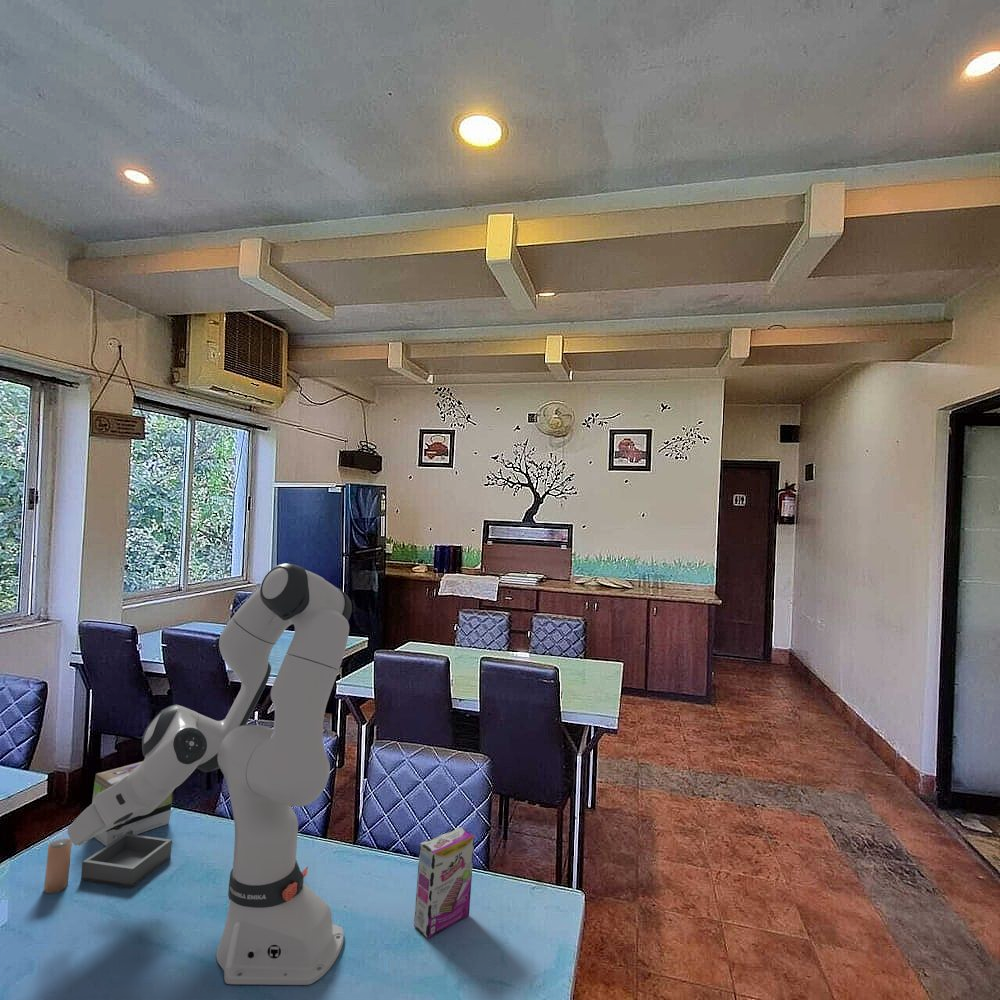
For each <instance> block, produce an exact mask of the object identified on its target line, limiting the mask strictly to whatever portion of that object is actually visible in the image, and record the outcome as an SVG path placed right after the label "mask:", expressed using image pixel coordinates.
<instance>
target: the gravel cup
mask: <svg viewBox="0 0 1000 1000" xmlns="http://www.w3.org/2000/svg"><path fill="white" fill-rule="evenodd" d="M72 844H73V843H72V841H71V840H70V838H69V837H68V838H60V839H56V840H53V841H52V842H50V843H49V844H48V846H47V856H46V868H45V878H44V886H43V889H44V890H43V892H44V893H46V894H56V893H58V892H61V891H64V890H65V889H67V887H68V886H69V876H70V866H71V856H72V855H71V854H72Z"/></svg>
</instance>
